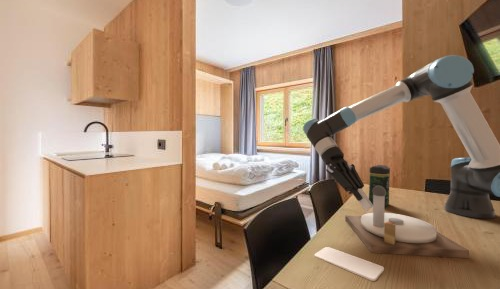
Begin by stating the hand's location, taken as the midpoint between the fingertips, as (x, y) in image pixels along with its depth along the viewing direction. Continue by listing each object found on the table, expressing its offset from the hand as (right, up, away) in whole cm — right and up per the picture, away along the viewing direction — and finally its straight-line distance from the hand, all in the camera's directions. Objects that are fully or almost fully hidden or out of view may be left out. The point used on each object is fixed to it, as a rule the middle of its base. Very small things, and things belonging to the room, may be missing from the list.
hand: (369, 208), depth 72 cm
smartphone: (-13, -10, -14) cm, 22 cm away
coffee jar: (+23, -8, +35) cm, 43 cm away
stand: (+9, -9, +1) cm, 13 cm away
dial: (+9, -7, +1) cm, 11 cm away
